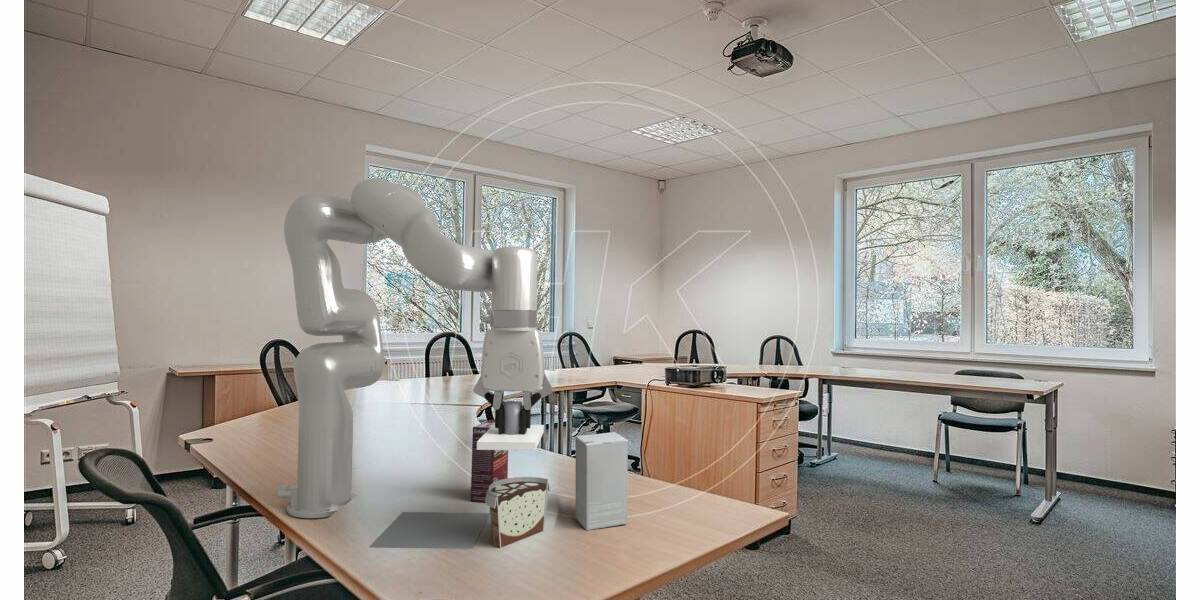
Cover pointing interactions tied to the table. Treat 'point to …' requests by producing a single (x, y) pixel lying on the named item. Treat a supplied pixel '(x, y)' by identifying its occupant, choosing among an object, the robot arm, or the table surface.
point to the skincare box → (601, 480)
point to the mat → (433, 530)
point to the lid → (511, 432)
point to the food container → (517, 508)
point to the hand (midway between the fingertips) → (512, 431)
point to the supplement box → (486, 465)
